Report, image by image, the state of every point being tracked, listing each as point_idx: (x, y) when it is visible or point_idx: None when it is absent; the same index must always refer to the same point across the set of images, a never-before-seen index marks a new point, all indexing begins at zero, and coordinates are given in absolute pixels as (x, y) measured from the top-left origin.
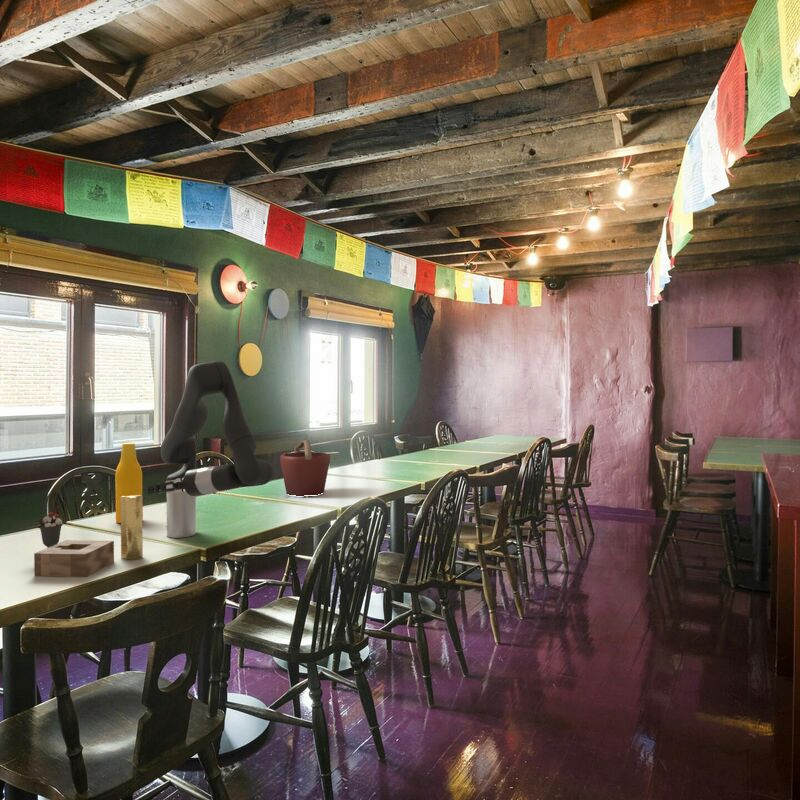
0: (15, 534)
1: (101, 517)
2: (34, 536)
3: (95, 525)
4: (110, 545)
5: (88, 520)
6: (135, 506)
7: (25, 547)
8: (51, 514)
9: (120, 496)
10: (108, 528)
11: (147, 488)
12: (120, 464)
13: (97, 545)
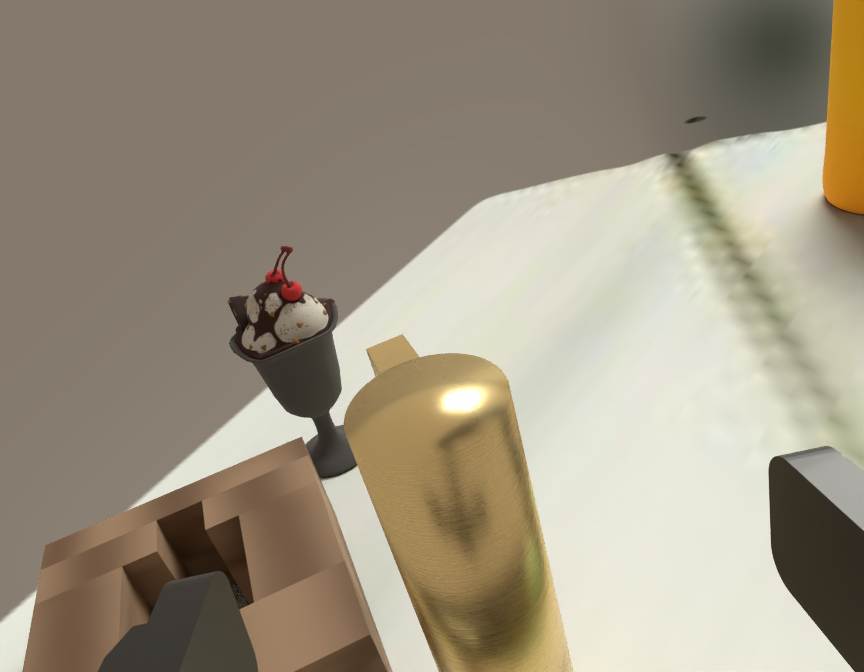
0: (507, 194)
1: (809, 137)
2: (522, 222)
3: (740, 193)
4: (334, 668)
5: (752, 150)
6: (403, 533)
7: (421, 294)
8: (268, 283)
9: (841, 85)
10: (760, 233)
11: (121, 652)
12: None
13: None
